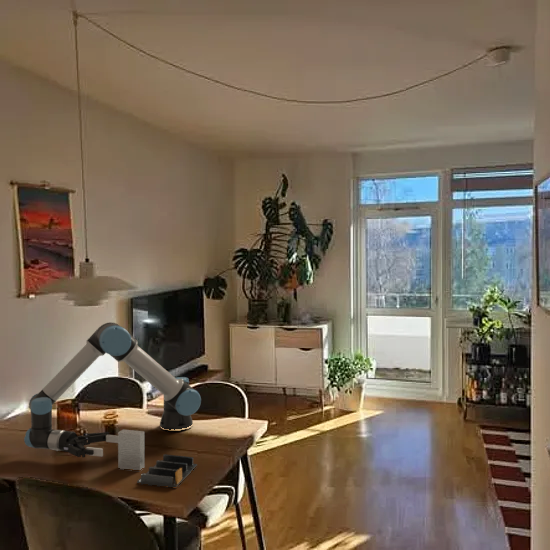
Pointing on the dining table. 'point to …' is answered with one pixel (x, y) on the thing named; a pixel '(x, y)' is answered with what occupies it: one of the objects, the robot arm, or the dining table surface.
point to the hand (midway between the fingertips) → (112, 445)
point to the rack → (168, 471)
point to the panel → (131, 449)
